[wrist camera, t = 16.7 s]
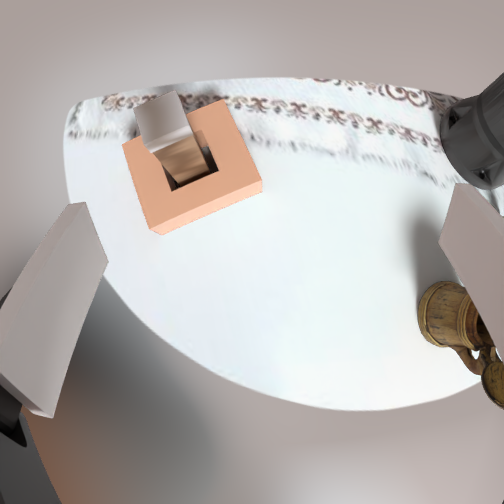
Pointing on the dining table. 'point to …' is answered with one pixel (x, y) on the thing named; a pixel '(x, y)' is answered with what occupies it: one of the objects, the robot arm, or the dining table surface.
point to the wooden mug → (462, 334)
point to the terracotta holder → (203, 190)
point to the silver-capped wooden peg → (171, 138)
